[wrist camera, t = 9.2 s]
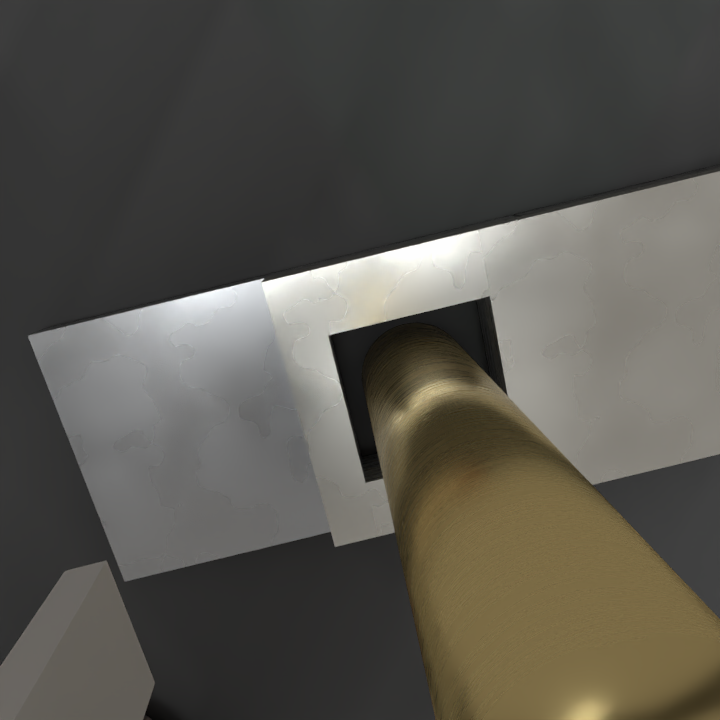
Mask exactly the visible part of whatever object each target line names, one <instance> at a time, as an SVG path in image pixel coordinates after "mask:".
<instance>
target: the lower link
mask: <svg viewBox="0 0 720 720" xmlns="http://www.w3.org/2000/svg"><path fill="white" fill-rule="evenodd" d="M511 218H515V217H514V216H506V217H502V218H498V219H494V220H489V221H485V222H481V223H477V224H473V225H469V226H465V227H461V228H457V229H452V230H448V231H444V232H440V233H436V234H432V235H428V236H424V237H420V238H415V239H411V240H407V241H403V242H399V243H395V244H391V245H387V246H382V247H378V248H374V249H370V250H366V251H362V252H358V253H354V254H350V255H345V256H341V257H337V258H333V259H329V260H325V261H321V262H317V263H312V264H308V265H304V266H300V267H296V268H292V269H288V270H284V271H280V272H275V273H271V274H267V275H263V276H259V277H255V278H251V279H247V280H243V281H238V282H234V283H230V284H226V285H222V286H218V287H214V288H210V289H205V290H201V291H197V292H193V293H189V294H185V295H181V296H177V297H173V298H168V299H164V300H160V301H156V302H152V303H148V304H144V305H140V306H135V307H131V308H127V309H123V310H119V311H115V312H111V313H107V314H103V315H98V316H94V317H90V318H86V319H82V320H78V321H74V322H70V323H66V324H61V325H57V326H53V327H49V328H45V329H42V330H39V331H37V332H35V333H33V334H31V335H28V338H29V340H30V343H31V345H32V348H33V350H34V353H35V355H36V358H37V360H38V363H39V366H40V368H41V371H42V373H43V376H44V378H45V381H46V383H47V386H48V388H49V391H50V393H51V396H52V399H53V401H54V404H55V406H56V409H57V411H58V414H59V416H60V419H61V421H62V424H63V426H64V429H65V432H66V434H67V437H68V439H69V442H70V444H71V447H72V449H73V452H74V454H75V457H76V459H77V462H78V465H79V467H80V470H81V472H82V475H83V477H84V480H85V482H86V485H87V487H88V490H89V493H90V495H91V498H92V500H93V503H94V505H95V508H96V510H97V513H98V515H99V518H100V520H101V523H102V526H103V528H104V531H105V533H106V536H107V538H108V541H109V543H110V546H111V548H112V551H113V553H114V556H115V559H116V561H117V564H118V566H119V569H120V571H121V574H122V576H123V579H124V581H129V580H134V579H138V578H142V577H146V576H150V575H154V574H158V573H162V572H167V571H171V570H175V569H179V568H183V567H187V566H191V565H196V564H200V563H204V562H208V561H212V560H216V559H220V558H225V557H229V556H233V555H237V554H241V553H245V552H249V551H254V550H258V549H262V548H266V547H270V546H274V545H278V544H282V543H287V542H291V541H295V540H299V539H303V538H307V537H311V536H316V535H320V534H324V533H328V532H331V530H330V527H329V523H328V520H327V516H326V513H325V509H324V505H323V502H322V498H321V495H320V491H319V487H318V484H317V480H316V477H315V473H314V470H313V466H312V462H311V459H310V455H309V452H308V448H307V444H306V441H305V437H304V434H303V430H302V427H301V423H300V419H299V416H298V412H297V409H296V405H295V401H294V398H293V394H292V391H291V387H290V384H289V380H288V376H287V373H286V369H285V366H284V362H283V358H282V355H281V351H280V348H279V344H278V341H277V337H276V333H275V330H274V326H273V323H272V319H271V316H270V312H269V308H268V305H267V301H266V298H265V294H264V290H263V287H262V283H261V282H262V281H263V280H264V278H268V277H272V276H276V275H280V274H284V273H288V272H292V271H296V270H301V269H305V268H309V267H313V266H317V265H321V264H325V263H329V262H334V261H338V260H342V259H346V258H350V257H354V256H358V255H362V254H366V253H371V252H375V251H379V250H383V249H387V248H391V247H395V246H399V245H404V244H408V243H412V242H416V241H420V240H424V239H428V238H432V237H436V236H441V235H445V234H449V233H453V232H457V231H461V230H465V229H469V228H473V227H478V226H482V225H486V224H490V223H494V222H498V221H502V220H506V219H511ZM476 301H477V307H478V312H479V318H480V323H481V329H482V334H483V340H484V345H485V350H486V356H487V361H488V367H489V372H490V378H491V379H492V380H493V381H494V382H495V383H496V384H497V385H498V380H497V374H496V369H495V363H494V358H493V352H492V347H491V341H490V336H489V330H488V324H487V319H486V313H485V308H484V302H483V298H480V299H476ZM329 336H330V340H331V344H332V347H333V351H334V355H335V359H336V363H337V367H338V371H339V375H340V379H341V383H342V387H343V391H344V395H345V399H346V402H347V406H348V410H349V414H350V418H351V422H352V426H353V430H354V434H355V438H356V442H357V446H358V450H359V454H360V457H361V461H362V465H363V469H367V468H371V467H376V466H380V462H379V457H378V453H377V454H373V455H369V456H365V457H362V456H361V452H360V449H359V445H358V441H357V437H356V433H355V429H354V425H353V421H352V417H351V413H350V409H349V405H348V401H347V397H346V393H345V389H344V386H343V382H342V378H341V374H340V370H339V366H338V362H337V358H336V354H335V350H334V346H333V342H332V338H331V335H329ZM498 386H499V385H498Z"/></svg>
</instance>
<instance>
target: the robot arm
mask: <svg viewBox="0 0 720 720" xmlns="http://www.w3.org/2000/svg"><path fill="white" fill-rule="evenodd" d="M154 685H155V682H154V679H153V676H152V674H151V671H150V669H149V666H148V664H147V661H146V659H145V656H144V654H143V651H142V649H141V646H140V644H139V641H138V639H137V636H136V633H135V631H134V628H133V626H132V623H131V621H130V618H129V616H128V613H127V611H126V608H125V606H124V603H123V601H122V598H121V596H120V593H119V590H118V588H117V585H116V583H115V580H114V578H113V575H112V573H111V570H110V568H109V565H108V563H107V560H106V561H102V562H98V563H94V564H90V565H86V566H82V567H78V568H74V569H71V570H67V571H65V572H64V573H63V574H62V576H61V577H60V579H59V580H58V582H57V583H56V585H55V586H54V588H53V589H52V591H51V592H50V594H49V595H48V597H47V598H46V600H45V601H44V603H43V604H42V605H41V607H40V608H39V610H38V611H37V613H36V614H35V616H34V617H33V619H32V620H31V622H30V623H29V625H28V626H27V628H26V629H25V631H24V632H23V634H22V635H21V637H20V638H19V639H18V641H17V642H16V644H15V645H14V647H13V648H12V650H11V651H10V653H9V654H8V656H7V657H6V659H5V660H4V662H3V663H2V665H1V666H0V720H143V718H144V715H145V712H146V709H147V706H148V703H149V700H150V697H151V694H152V691H153V688H154Z"/></svg>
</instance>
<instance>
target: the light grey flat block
mask: <svg viewBox="0 0 720 720" xmlns="http://www.w3.org/2000/svg"><path fill="white" fill-rule="evenodd" d="M514 217H515V218H511V219H506V220H502V221H498V222H494V223H490V224H486V225H482V226H478V227H473V228H469V229H465V230H461V231H457V232H453V233H449V234H445V235H441V236H436V237H432V238H428V239H424V240H420V241H416V242H412V243H408V244H404V245H399V246H395V247H391V248H387V249H383V250H379V251H375V252H371V253H366V254H362V255H358V256H354V257H350V258H346V259H342V260H338V261H334V262H329V263H325V264H321V265H317V266H313V267H309V268H305V269H301V270H296V271H292V272H288V273H284V274H280V275H276V276H272V277H268V278H264V280H263V281H262V282H261V283H262V287H263V290H264V294H265V298H266V301H267V305H268V308H269V312H270V316H271V319H272V323H273V326H274V330H275V333H276V337H277V341H278V344H279V348H280V351H281V355H282V358H283V362H284V366H285V369H286V373H287V376H288V380H289V384H290V387H291V391H292V394H293V398H294V401H295V405H296V409H297V412H298V416H299V419H300V423H301V427H302V430H303V434H304V437H305V441H306V444H307V448H308V452H309V455H310V459H311V462H312V466H313V470H314V473H315V477H316V480H317V484H318V487H319V491H320V495H321V498H322V502H323V505H324V509H325V513H326V516H327V520H328V523H329V527H330V530H331V534H332V538H333V541H334V545H335V547H337V546H341V545H345V544H349V543H354V542H358V541H362V540H366V539H370V538H374V537H378V536H383V535H387V534H391V533H395V530H394V526H393V521H392V517H391V512H390V507H389V503H388V498H387V494H386V489H385V484H384V480H383V475H382V471H381V466H376V467H371V468H367V469H363V465H362V461H361V457H360V454H359V450H358V446H357V442H356V438H355V434H354V430H353V426H352V422H351V418H350V414H349V410H348V406H347V402H346V399H345V395H344V391H343V387H342V383H341V379H340V375H339V371H338V367H337V363H336V359H335V355H334V351H333V347H332V344H331V340H330V336H329V335H332V334H336V333H340V332H344V331H348V330H353V329H357V328H361V327H365V326H369V325H373V324H377V323H381V322H386V321H390V320H394V319H398V318H402V317H406V316H410V315H414V314H419V313H423V312H427V311H431V310H435V309H439V308H443V307H447V306H452V305H456V304H460V303H464V302H468V301H472V300H476V299H480V298H483V302H484V308H485V313H486V319H487V324H488V330H489V336H490V341H491V347H492V352H493V358H494V363H495V369H496V374H497V380H498V385H499V387H500V388H501V390H502V391H503V392H504V393H505V394H506V395H507V396H508V397H509V398H510V399H511V400H512V401H513V402H514V403H515V404H516V405H517V406H518V407H519V408H520V410H521V411H522V412H523V413H524V414H525V415H526V416H527V417H528V418H529V419H530V420H531V421H532V422H533V423H534V424H535V425H536V426H537V427H538V428H539V430H540V431H541V432H542V433H543V434H544V435H545V436H546V437H547V438H548V439H549V440H550V441H551V442H552V443H553V444H554V445H555V446H556V447H557V448H558V450H559V451H560V452H561V453H562V454H563V455H564V456H565V457H566V458H567V459H568V460H569V461H570V462H571V463H572V464H573V465H574V466H575V467H576V468H577V470H578V471H579V472H580V473H581V474H582V475H583V476H584V477H585V478H586V479H587V480H588V481H589V482H590V483H591V484H592V485H594V484H598V483H602V482H606V481H610V480H614V479H618V478H623V477H627V476H631V475H635V474H639V473H643V472H647V471H652V470H656V469H660V468H664V467H668V466H672V465H676V464H681V463H685V462H689V461H693V460H697V459H701V458H705V457H709V456H714V455H718V454H720V165H716V166H712V167H708V168H704V169H699V170H695V171H691V172H687V173H683V174H679V175H675V176H671V177H666V178H662V179H658V180H654V181H650V182H646V183H642V184H638V185H634V186H629V187H625V188H621V189H617V190H613V191H609V192H605V193H601V194H597V195H592V196H588V197H584V198H580V199H576V200H572V201H568V202H564V203H559V204H555V205H551V206H547V207H543V208H539V209H535V210H531V211H527V212H522V213H518V214H514Z"/></svg>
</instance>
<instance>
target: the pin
mask: <svg viewBox="0 0 720 720" xmlns="http://www.w3.org/2000/svg"><path fill="white" fill-rule="evenodd" d="M362 383H363V388H364V393H365V397H366V402H367V407H368V411H369V416H370V420H371V425H372V429H373V434H374V439H375V443H376V448H377V452H378V457H379V462H380V466H381V471H382V475H383V480H384V484H385V489H386V494H387V498H388V503H389V507H390V512H391V517H392V521H393V526H394V530H395V535H396V539H397V544H398V549H399V553H400V558H401V562H402V567H403V571H404V576H405V581H406V585H407V590H408V594H409V599H410V604H411V608H412V613H413V617H414V622H415V626H416V631H417V636H418V640H419V645H420V649H421V654H422V659H423V663H424V668H425V672H426V677H427V681H428V686H429V691H430V695H431V700H432V704H433V709H434V713H435V718H436V720H720V619H719V618H718V617H717V616H716V615H715V614H714V613H713V612H712V611H711V609H710V608H709V607H708V606H707V605H706V604H705V603H704V602H703V601H702V600H701V599H700V598H699V597H698V596H697V595H696V594H695V593H694V592H693V591H692V589H691V588H690V587H689V586H688V585H687V584H686V583H685V582H684V581H683V580H682V579H681V578H680V577H679V576H678V575H677V574H676V573H675V572H674V571H673V569H672V568H671V567H670V566H669V565H668V564H667V563H666V562H665V561H664V560H663V559H662V558H661V557H660V556H659V555H658V554H657V553H656V552H655V551H654V549H653V548H652V547H651V546H650V545H649V544H648V543H647V542H646V541H645V540H644V539H643V538H642V537H641V536H640V535H639V534H638V533H637V532H636V531H635V529H634V528H633V527H632V526H631V525H630V524H629V523H628V522H627V521H626V520H625V519H624V518H623V517H622V516H621V515H620V514H619V513H618V512H617V511H616V509H615V508H614V507H613V506H612V505H611V504H610V503H609V502H608V501H607V500H606V499H605V498H604V497H603V496H602V495H601V494H600V493H599V492H598V491H597V489H596V488H595V487H594V486H593V485H592V484H591V483H590V482H589V481H588V480H587V479H586V478H585V477H584V476H583V475H582V474H581V473H580V472H579V471H578V470H577V468H576V467H575V466H574V465H573V464H572V463H571V462H570V461H569V460H568V459H567V458H566V457H565V456H564V455H563V454H562V453H561V452H560V451H559V450H558V448H557V447H556V446H555V445H554V444H553V443H552V442H551V441H550V440H549V439H548V438H547V437H546V436H545V435H544V434H543V433H542V432H541V431H540V430H539V428H538V427H537V426H536V425H535V424H534V423H533V422H532V421H531V420H530V419H529V418H528V417H527V416H526V415H525V414H524V413H523V412H522V411H521V410H520V408H519V407H518V406H517V405H516V404H515V403H514V402H513V401H512V400H511V399H510V398H509V397H508V396H507V395H506V394H505V393H504V392H503V391H502V390H501V388H500V387H499V386H498V385H497V384H496V383H495V382H494V381H493V380H492V379H491V378H490V377H489V376H488V375H487V374H486V373H485V372H484V371H483V370H482V368H481V367H480V366H479V365H478V364H477V363H476V362H475V361H474V360H473V359H472V358H471V357H470V356H469V355H468V354H467V353H466V352H465V351H464V350H463V348H462V347H461V346H460V345H459V344H458V343H457V342H456V341H455V340H454V339H453V338H452V337H451V336H450V335H449V334H447V333H446V332H445V331H443V330H441V329H439V328H437V327H435V326H432V325H428V324H423V323H409V324H403V325H400V326H397V327H394V328H392V329H390V330H389V331H387V332H385V333H384V334H383V335H381V336H380V337H379V338H378V339H377V340H376V341H375V342H374V343H373V345H372V346H371V347H370V349H369V351H368V353H367V354H366V357H365V360H364V363H363V367H362Z"/></svg>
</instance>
